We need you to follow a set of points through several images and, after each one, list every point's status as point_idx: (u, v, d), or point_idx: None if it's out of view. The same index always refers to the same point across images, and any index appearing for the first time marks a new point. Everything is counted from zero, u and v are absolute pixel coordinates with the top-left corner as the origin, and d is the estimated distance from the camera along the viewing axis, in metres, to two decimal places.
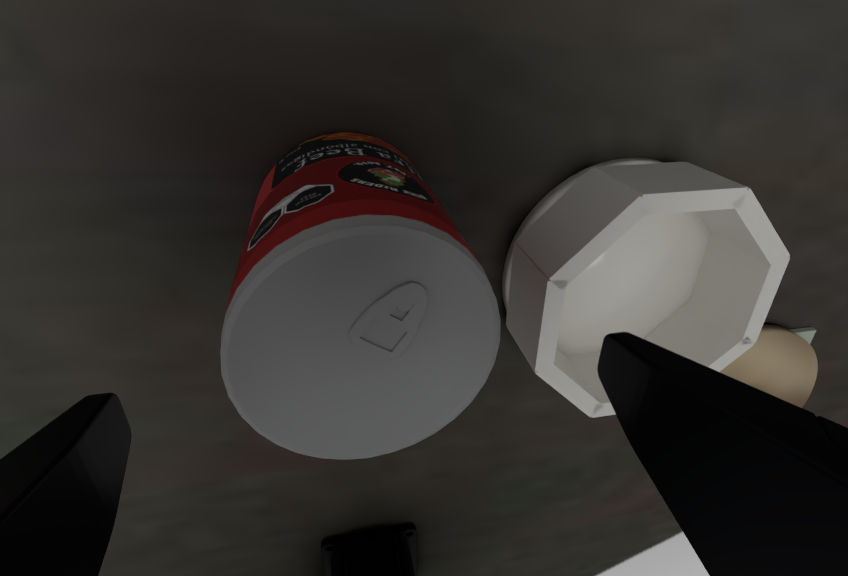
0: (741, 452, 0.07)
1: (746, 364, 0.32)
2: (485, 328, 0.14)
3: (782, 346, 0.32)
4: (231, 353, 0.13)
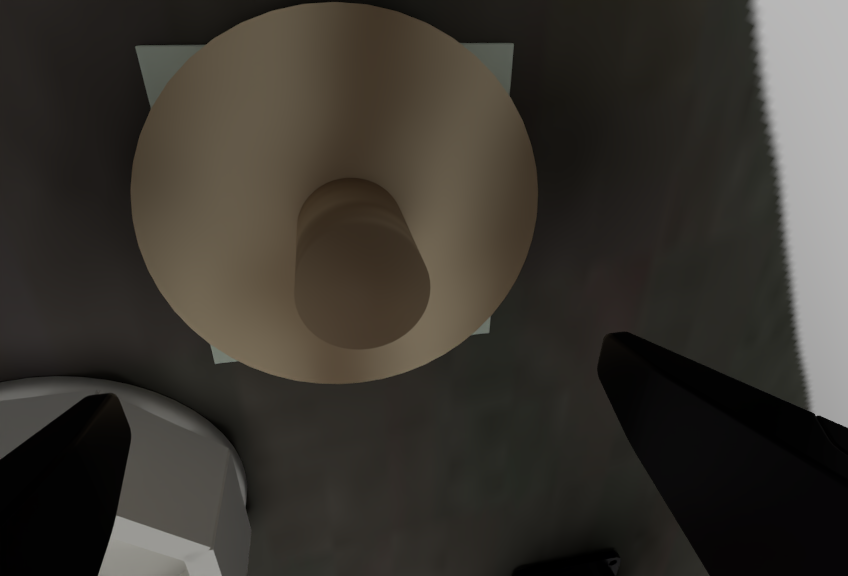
0: (741, 452, 0.07)
1: (230, 251, 0.15)
2: None
3: (172, 180, 0.13)
4: None
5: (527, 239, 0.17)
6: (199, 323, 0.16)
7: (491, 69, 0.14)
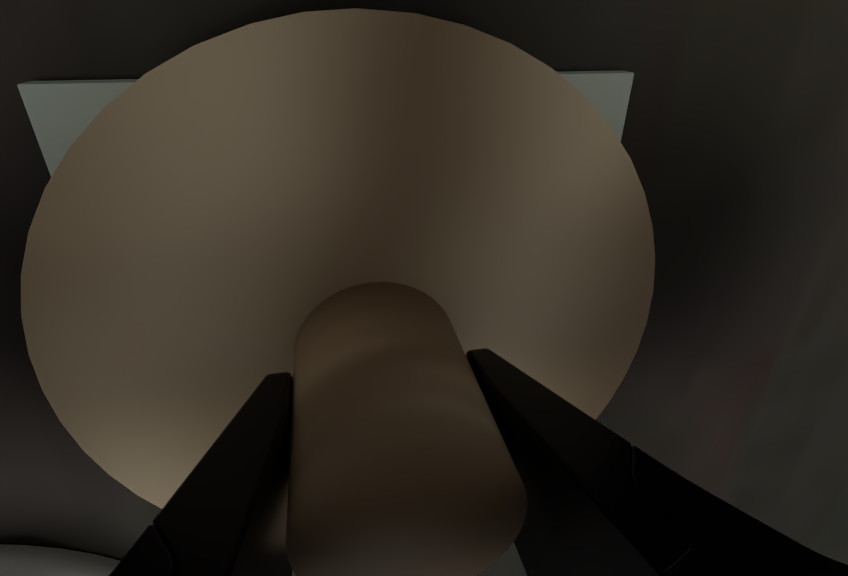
0: (551, 484, 0.06)
1: (190, 392, 0.10)
2: None
3: (90, 297, 0.08)
4: None
5: (630, 352, 0.11)
6: (148, 487, 0.10)
7: None
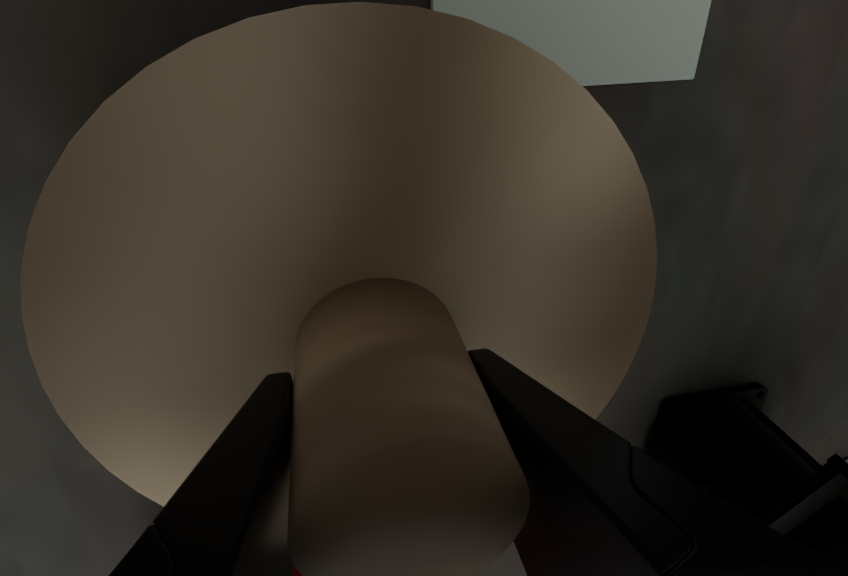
0: (551, 485, 0.06)
1: (191, 388, 0.10)
2: None
3: (90, 292, 0.08)
4: None
5: (632, 349, 0.11)
6: (148, 484, 0.10)
7: None
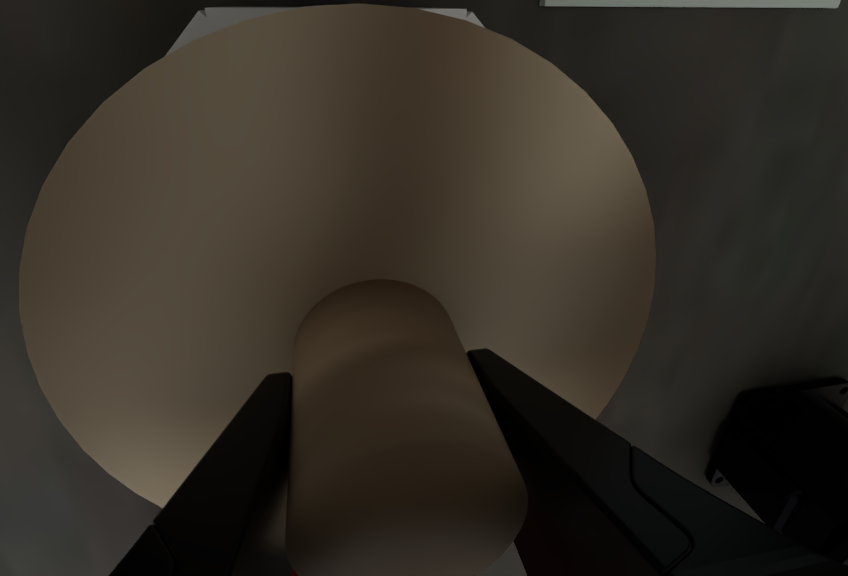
0: (551, 485, 0.06)
1: (190, 389, 0.10)
2: None
3: (89, 294, 0.08)
4: None
5: (631, 350, 0.11)
6: (147, 485, 0.10)
7: None
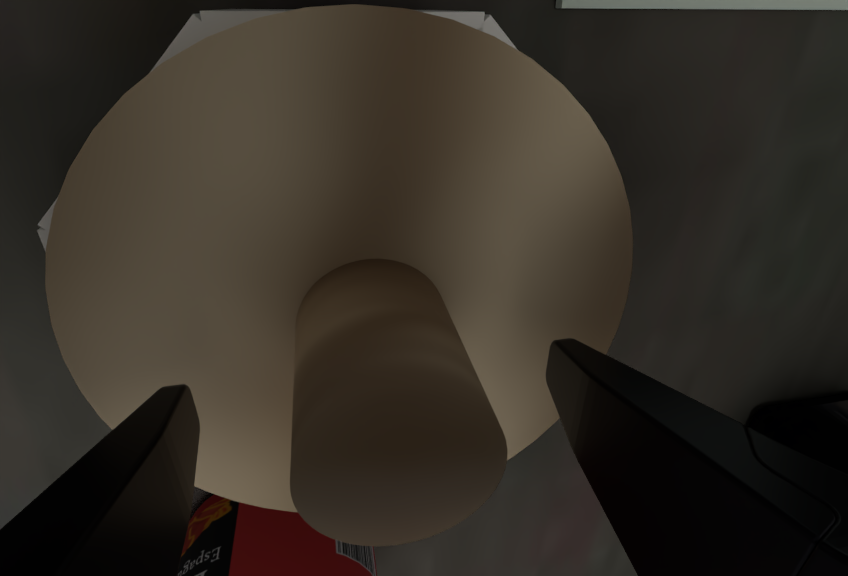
0: (668, 464, 0.07)
1: (199, 361, 0.10)
2: None
3: (108, 270, 0.09)
4: None
5: (611, 329, 0.12)
6: None
7: None
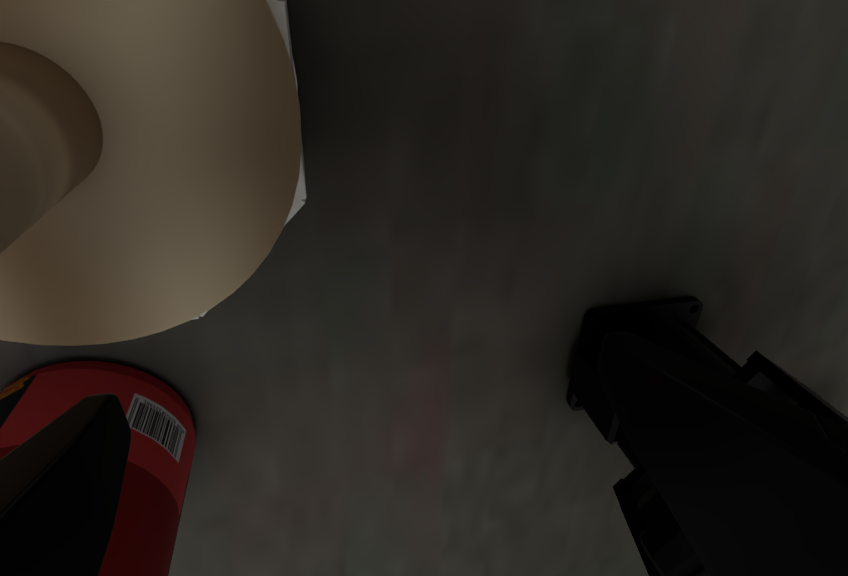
0: (741, 452, 0.07)
1: None
2: None
3: None
4: None
5: (294, 148, 0.12)
6: None
7: None
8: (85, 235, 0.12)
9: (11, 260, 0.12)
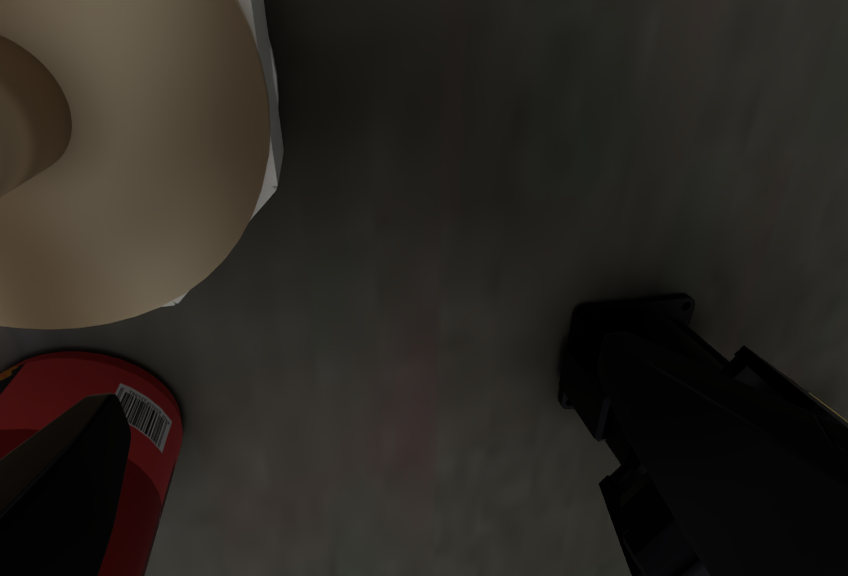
0: (741, 452, 0.07)
1: None
2: None
3: None
4: None
5: (261, 133, 0.13)
6: None
7: None
8: (57, 218, 0.13)
9: None
